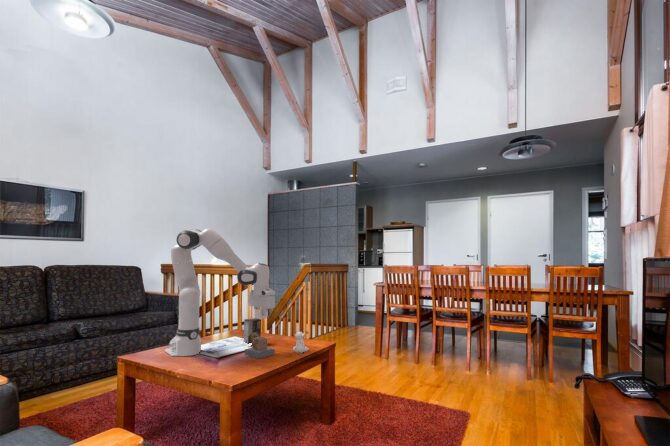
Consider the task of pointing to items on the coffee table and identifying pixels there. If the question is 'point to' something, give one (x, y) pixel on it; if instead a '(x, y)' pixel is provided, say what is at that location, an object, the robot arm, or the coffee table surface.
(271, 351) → the base
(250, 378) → the coffee table surface
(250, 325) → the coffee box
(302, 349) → the white creature statuette
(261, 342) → the walnut block
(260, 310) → the cream block
